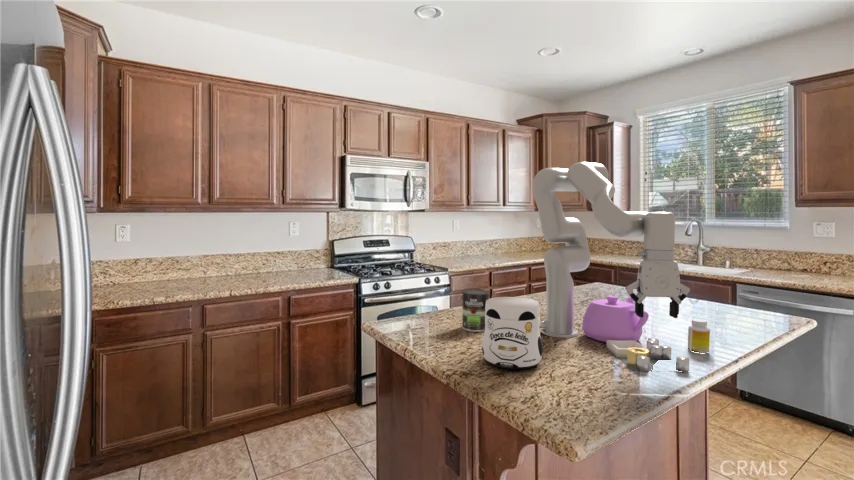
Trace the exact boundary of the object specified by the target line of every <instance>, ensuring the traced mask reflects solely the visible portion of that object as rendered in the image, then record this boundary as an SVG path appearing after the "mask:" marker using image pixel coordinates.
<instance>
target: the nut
mask: <svg viewBox="0 0 854 480" xmlns="http://www.w3.org/2000/svg"><path fill="white" fill-rule="evenodd" d="M637 356H646V357H649V350H646V349H643V348H637V347H630V348H629V349H628V357H627V363H628V364H630V365H632V366H635V367H636V364H637Z"/></svg>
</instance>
